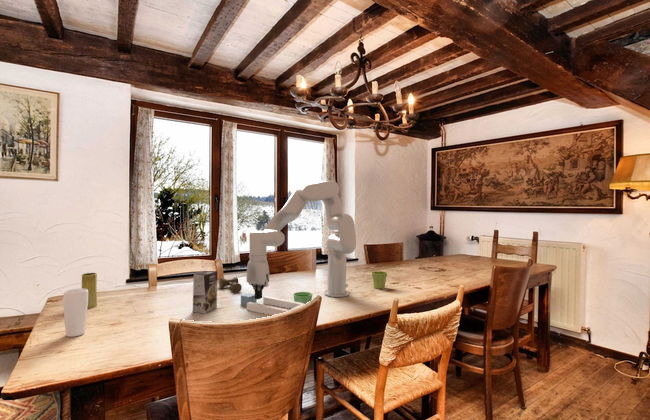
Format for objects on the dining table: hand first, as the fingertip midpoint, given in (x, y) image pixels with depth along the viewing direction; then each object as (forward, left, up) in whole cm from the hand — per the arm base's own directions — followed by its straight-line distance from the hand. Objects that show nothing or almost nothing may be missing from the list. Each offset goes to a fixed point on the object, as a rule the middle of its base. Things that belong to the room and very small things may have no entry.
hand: (258, 298), depth 148 cm
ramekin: (-14, +15, -4) cm, 21 cm away
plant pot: (-63, +35, -4) cm, 72 cm away
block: (+1, -5, -4) cm, 6 cm away
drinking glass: (+59, -30, -4) cm, 66 cm away
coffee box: (+17, -15, -4) cm, 23 cm away
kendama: (-16, -33, -4) cm, 37 cm away
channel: (+1, +11, -3) cm, 11 cm away
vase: (+41, -60, -4) cm, 73 cm away
